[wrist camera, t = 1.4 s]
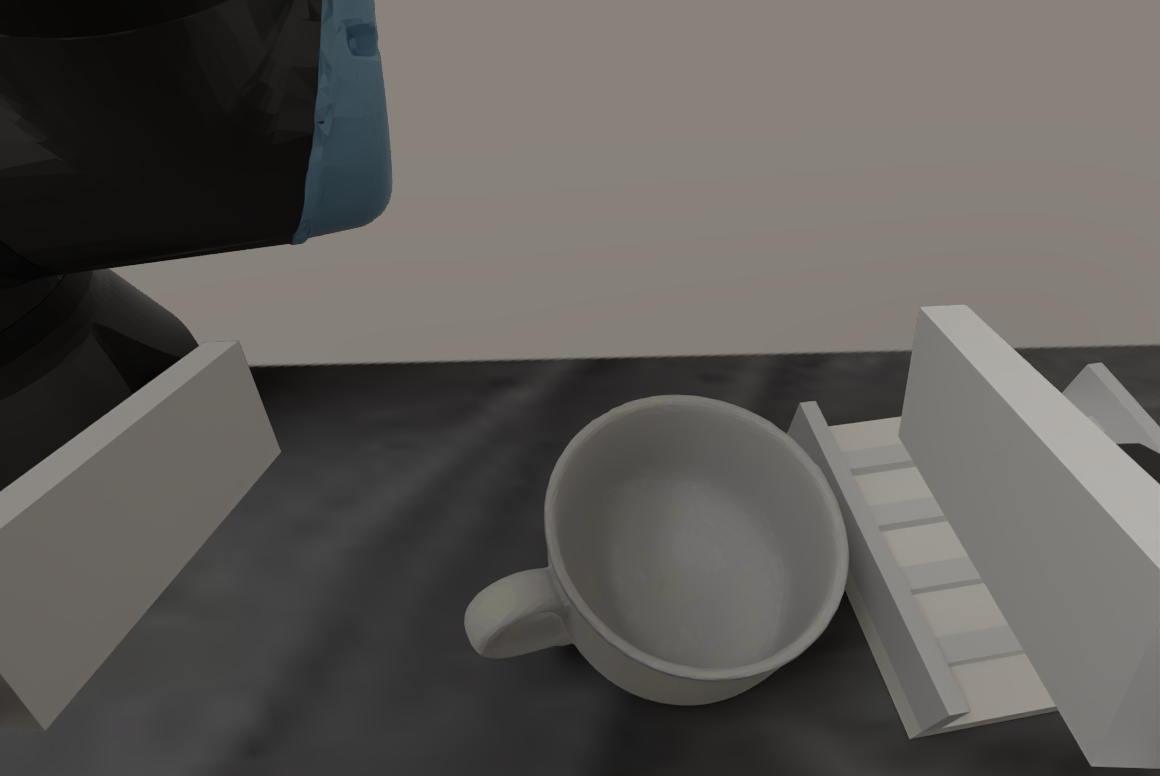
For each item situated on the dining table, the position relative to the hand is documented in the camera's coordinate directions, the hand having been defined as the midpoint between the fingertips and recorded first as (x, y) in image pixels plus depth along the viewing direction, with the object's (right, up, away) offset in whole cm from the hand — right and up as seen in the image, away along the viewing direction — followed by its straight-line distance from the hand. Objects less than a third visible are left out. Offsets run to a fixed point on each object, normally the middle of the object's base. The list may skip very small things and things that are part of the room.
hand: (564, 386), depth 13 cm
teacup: (+3, -10, +16) cm, 19 cm away
